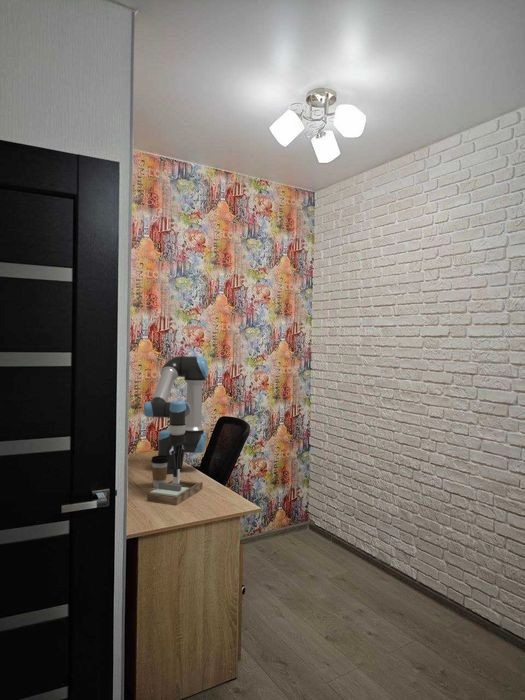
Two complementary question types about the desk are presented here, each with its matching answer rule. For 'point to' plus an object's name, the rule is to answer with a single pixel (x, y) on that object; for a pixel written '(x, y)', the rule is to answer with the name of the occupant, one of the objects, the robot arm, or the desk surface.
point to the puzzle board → (193, 489)
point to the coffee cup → (159, 470)
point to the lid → (169, 489)
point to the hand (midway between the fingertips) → (176, 482)
